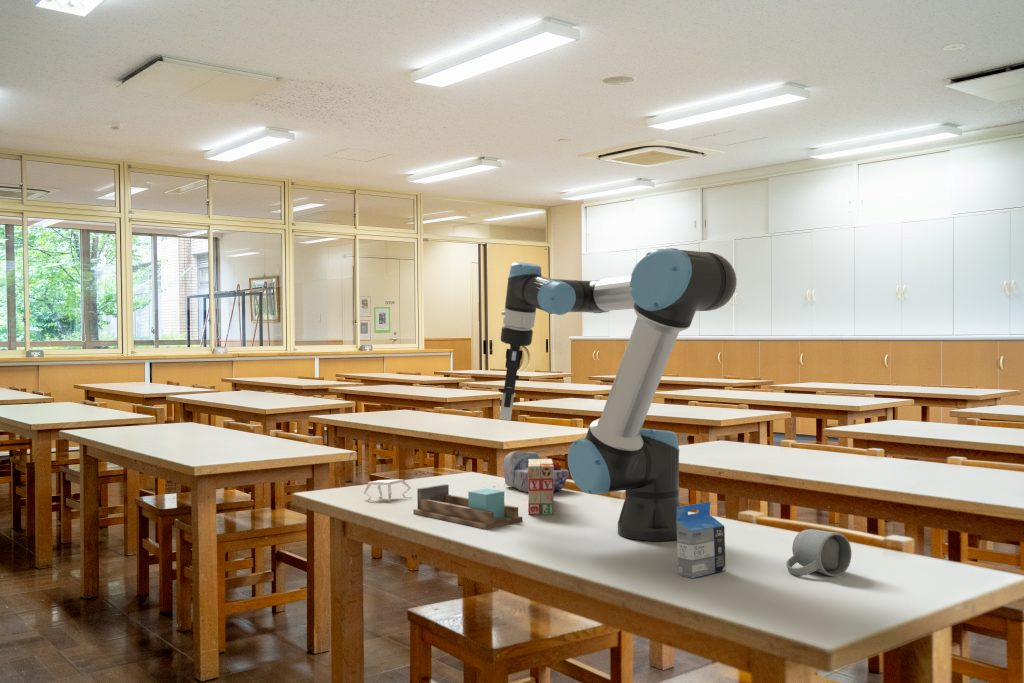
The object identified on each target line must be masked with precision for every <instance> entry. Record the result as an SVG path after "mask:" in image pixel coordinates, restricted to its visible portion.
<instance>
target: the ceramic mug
mask: <svg viewBox="0 0 1024 683" xmlns="http://www.w3.org/2000/svg"><path fill="white" fill-rule="evenodd" d="M791 547H792V556H791V557H789V558H788V560H787V561H786V562H785V565H786V566H785V567H786V568H787V571H788V573H789V574H790V575H792V576H795V577H799V576H806V575H810V574H812V573H814V572H818V573H819V574H822V575H826V576H829V577H835V578H836V577H839V576H841V575H843V574H844V573H846V571H847V570H848V568H849V566H850V564H851V562H852V561H851V560H852V552H853V551H852V546H851V544H850V542H849V540H848V538H847V537H846V536H845V535H843V534H842V533H840V532H833V531H826V530H822V529H821V530H819V529H814V528H813V529H811V528H810V529H808V528H807V529H803V530H802V531H799V532H798V533H797V535H796V536H795V538H794V539H793V542H792V546H791ZM796 564H798V565H800V566H801V567H794V566H795V565H796Z"/></svg>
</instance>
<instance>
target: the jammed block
mask: <svg viewBox="0 0 1024 683" xmlns="http://www.w3.org/2000/svg"><path fill="white" fill-rule="evenodd" d="M467 493H468V497H467V498H468V506H469V507H470V508H475V509H480V510H486V511H491V512H494V519H497V518H501V517H504V505H505V491H503V490H499V489H492V488H483V489H477V490H471V491H468V492H467Z"/></svg>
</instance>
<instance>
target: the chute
mask: <svg viewBox="0 0 1024 683" xmlns="http://www.w3.org/2000/svg"><path fill="white" fill-rule="evenodd" d="M449 486H450V485H449V484H447V483H444V484H437V485H430V486H426V487H419V488H417V495H416V496H417V504H416V505H417V508H414V509H413V513H412V514H414V515H419V516H422V517H427V518H428V517H429V518H432V519H436V520H441V521H446V522H451V523H456V524H461V525H465V526H468V525H469V527H473V526H474V527H475V528H479V529H482V528H483V530H488V529H489V530H490V529H492V528H493V527H494V528H498V527H502V526H508V525H510V524H516V523H521V522H523V516H520V515H519V506H513V505H508V504H504V517H501V518H497V519H494V512H491V511H486V510H480V509H475V508H470V507H469V506H468V497H466V496H465V497H463V496H459V495H453V494H449V489H450V488H449Z"/></svg>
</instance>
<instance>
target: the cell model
mask: <svg viewBox="0 0 1024 683" xmlns="http://www.w3.org/2000/svg"><path fill="white" fill-rule="evenodd" d="M528 459H540V456H539V454H538V453H536V452H524V451H520V450H515V451H511V452H510V453H508V454H506V455H505V456H504V459H503V462H502V463H503V466H502V467H503V477H504V484H505V485H506V486H508V487H512V488H515V489H516V490H519V491H521V492H523V491H524V493H528ZM553 466H554V472H553V480H554V490H553V492H557V491H558V492H559V491H561V490H563V489H564V486H565V485H566V481H567V480H568V479H569V474H570V470H568V469H566V468H561V466H560V464H559V462H555V463H554V462H553Z"/></svg>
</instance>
